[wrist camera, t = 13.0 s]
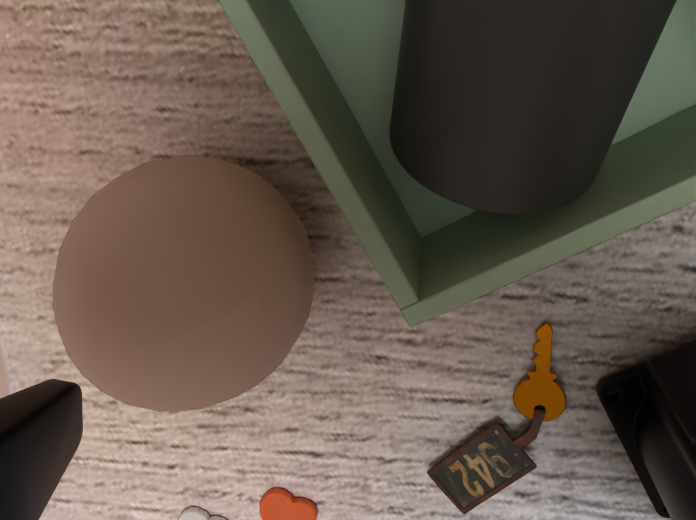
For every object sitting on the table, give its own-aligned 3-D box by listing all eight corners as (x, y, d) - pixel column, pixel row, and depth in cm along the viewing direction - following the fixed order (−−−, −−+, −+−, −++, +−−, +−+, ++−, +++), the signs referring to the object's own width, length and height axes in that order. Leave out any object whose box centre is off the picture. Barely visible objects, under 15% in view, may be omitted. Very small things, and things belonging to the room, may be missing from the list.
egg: (118, 133, 21) (-59, 202, 13) (328, 134, 20) (267, 208, 13) (147, 322, 24) (13, 471, 16) (333, 330, 23) (286, 490, 15)
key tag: (485, 519, 25) (484, 529, 24) (422, 474, 25) (419, 482, 24) (617, 364, 22) (619, 371, 21) (543, 316, 22) (543, 321, 22)
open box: (752, 91, 18) (877, 121, 13) (414, 254, 21) (410, 329, 16) (605, -317, 15) (693, -479, 10) (237, -59, 18) (166, -85, 13)
